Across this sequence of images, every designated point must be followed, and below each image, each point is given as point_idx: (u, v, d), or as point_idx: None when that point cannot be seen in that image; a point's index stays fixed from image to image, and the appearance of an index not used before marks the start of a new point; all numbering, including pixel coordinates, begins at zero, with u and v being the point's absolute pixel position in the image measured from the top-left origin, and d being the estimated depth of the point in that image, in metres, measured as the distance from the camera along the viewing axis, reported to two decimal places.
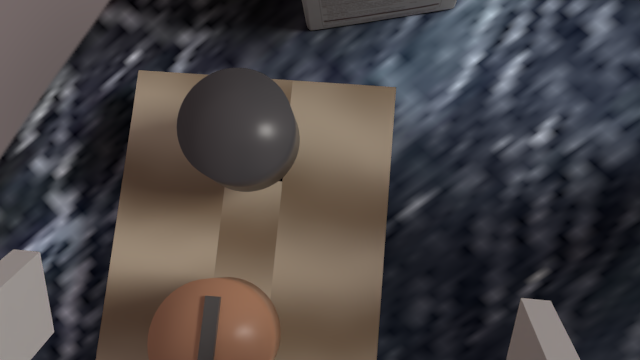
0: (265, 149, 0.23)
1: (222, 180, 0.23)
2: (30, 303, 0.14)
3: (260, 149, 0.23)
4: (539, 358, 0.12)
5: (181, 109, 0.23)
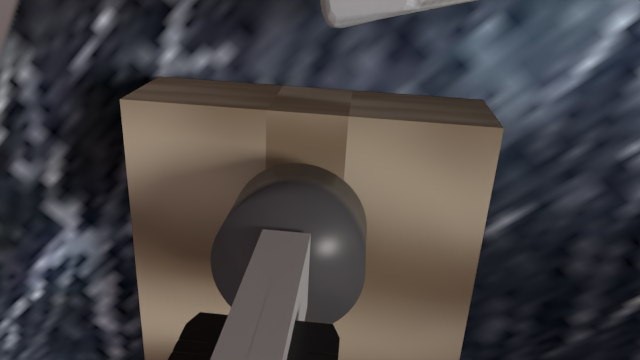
0: (330, 300, 0.18)
1: None
2: None
3: (323, 300, 0.18)
4: None
5: (214, 250, 0.17)
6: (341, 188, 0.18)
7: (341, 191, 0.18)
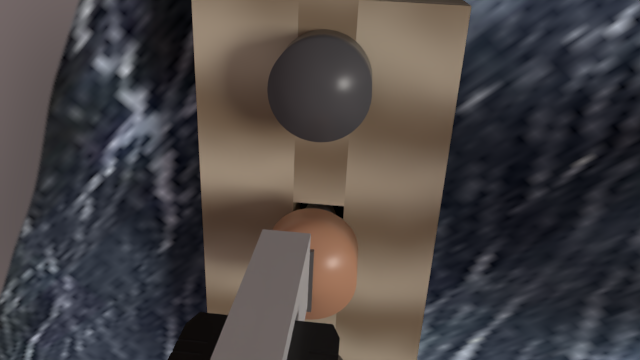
0: (348, 115, 0.26)
1: (312, 140, 0.27)
2: None
3: (343, 115, 0.26)
4: None
5: (270, 80, 0.26)
6: (354, 43, 0.27)
7: (355, 44, 0.26)
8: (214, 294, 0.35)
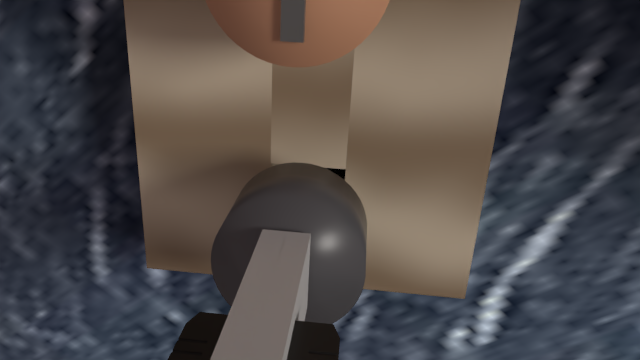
0: None
1: None
2: None
3: None
4: None
5: None
6: None
7: None
8: (146, 108, 0.21)
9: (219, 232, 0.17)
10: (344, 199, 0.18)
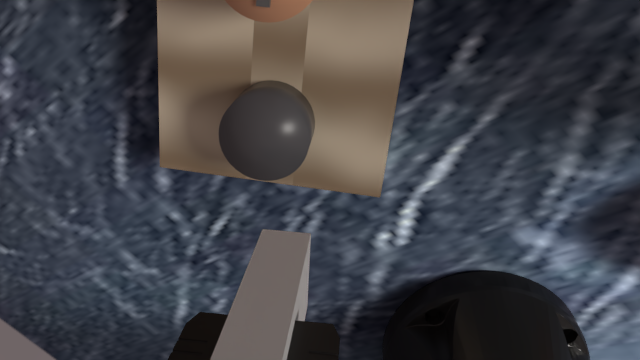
0: None
1: None
2: None
3: None
4: None
5: None
6: None
7: None
8: (167, 51, 0.31)
9: (224, 114, 0.29)
10: (299, 101, 0.30)
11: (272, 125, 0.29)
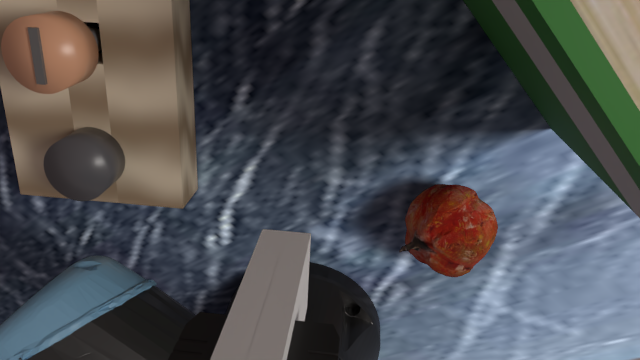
0: None
1: None
2: None
3: None
4: None
5: None
6: None
7: None
8: (11, 110, 0.42)
9: (45, 154, 0.40)
10: (103, 142, 0.41)
11: (79, 161, 0.40)
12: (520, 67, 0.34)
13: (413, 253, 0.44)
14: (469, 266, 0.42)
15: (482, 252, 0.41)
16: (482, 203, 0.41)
